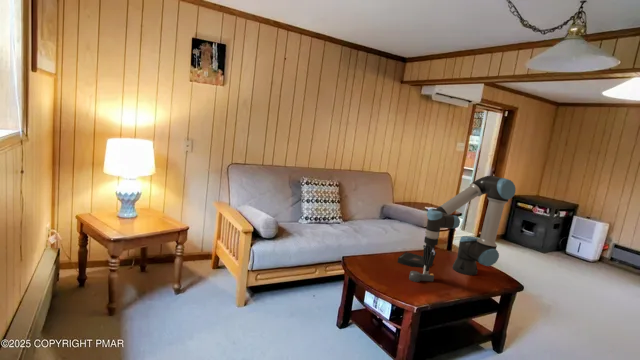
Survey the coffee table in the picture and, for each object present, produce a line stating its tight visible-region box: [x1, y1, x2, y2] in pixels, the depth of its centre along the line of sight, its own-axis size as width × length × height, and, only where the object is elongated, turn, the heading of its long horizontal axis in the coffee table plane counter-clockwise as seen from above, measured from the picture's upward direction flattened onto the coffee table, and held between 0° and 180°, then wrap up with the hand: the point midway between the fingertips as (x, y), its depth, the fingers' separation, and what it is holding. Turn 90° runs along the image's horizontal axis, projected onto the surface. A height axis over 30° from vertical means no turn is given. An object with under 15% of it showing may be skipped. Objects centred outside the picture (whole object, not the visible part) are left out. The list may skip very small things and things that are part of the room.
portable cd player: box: [396, 251, 425, 269], centre depth 237 cm, size 16×17×4 cm
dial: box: [408, 270, 435, 283], centre depth 205 cm, size 14×6×4 cm, turn 97°
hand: (425, 275), depth 209 cm, fingers closed
